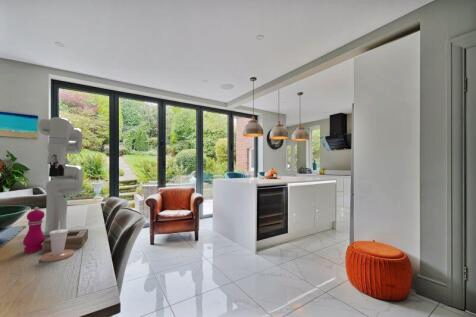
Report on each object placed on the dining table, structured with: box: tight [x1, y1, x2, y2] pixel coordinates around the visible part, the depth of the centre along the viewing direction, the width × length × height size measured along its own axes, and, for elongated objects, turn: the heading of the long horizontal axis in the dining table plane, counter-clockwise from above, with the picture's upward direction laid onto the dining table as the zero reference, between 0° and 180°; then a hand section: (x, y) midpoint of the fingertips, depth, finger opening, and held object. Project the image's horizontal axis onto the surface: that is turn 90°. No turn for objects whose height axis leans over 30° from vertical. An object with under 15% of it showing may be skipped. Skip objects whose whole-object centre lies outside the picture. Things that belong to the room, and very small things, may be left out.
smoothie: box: [48, 221, 68, 256], centre depth 91 cm, size 6×6×14 cm
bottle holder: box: [42, 228, 89, 254], centre depth 104 cm, size 16×14×5 cm
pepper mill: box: [22, 206, 46, 254], centre depth 97 cm, size 7×7×20 cm
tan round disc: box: [39, 249, 75, 263], centre depth 90 cm, size 11×11×1 cm
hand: (56, 176), depth 103 cm, fingers open, 9 cm apart
